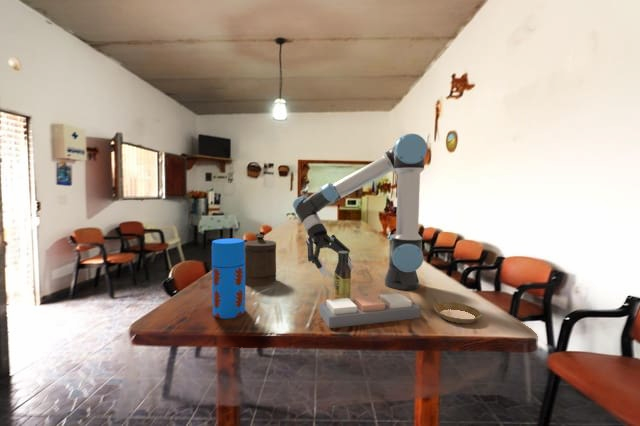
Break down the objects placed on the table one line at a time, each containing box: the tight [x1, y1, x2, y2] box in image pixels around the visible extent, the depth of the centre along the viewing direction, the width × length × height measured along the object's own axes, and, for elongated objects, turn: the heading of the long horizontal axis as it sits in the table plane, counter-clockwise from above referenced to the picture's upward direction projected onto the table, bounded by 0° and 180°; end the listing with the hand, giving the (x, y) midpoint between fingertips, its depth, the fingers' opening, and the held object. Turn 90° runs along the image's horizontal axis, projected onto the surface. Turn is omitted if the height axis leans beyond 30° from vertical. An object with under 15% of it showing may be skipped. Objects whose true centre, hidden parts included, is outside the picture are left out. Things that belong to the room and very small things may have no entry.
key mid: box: [353, 295, 385, 312], centre depth 104 cm, size 8×8×2 cm
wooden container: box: [245, 233, 277, 287], centre depth 141 cm, size 15×15×22 cm
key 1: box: [325, 298, 357, 315], centre depth 101 cm, size 8×8×2 cm
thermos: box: [211, 237, 246, 320], centre depth 105 cm, size 11×11×25 cm
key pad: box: [318, 297, 421, 329], centre depth 104 cm, size 32×12×4 cm, turn 105°
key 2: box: [379, 293, 413, 309], centre depth 107 cm, size 8×8×2 cm
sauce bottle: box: [333, 251, 352, 300], centre depth 115 cm, size 7×6×20 cm
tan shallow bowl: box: [433, 302, 482, 324], centre depth 104 cm, size 15×15×3 cm
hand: (339, 272), depth 115 cm, fingers open, 13 cm apart
